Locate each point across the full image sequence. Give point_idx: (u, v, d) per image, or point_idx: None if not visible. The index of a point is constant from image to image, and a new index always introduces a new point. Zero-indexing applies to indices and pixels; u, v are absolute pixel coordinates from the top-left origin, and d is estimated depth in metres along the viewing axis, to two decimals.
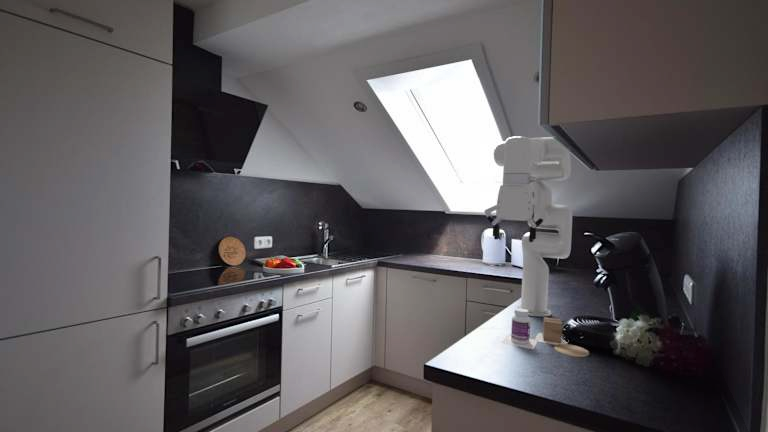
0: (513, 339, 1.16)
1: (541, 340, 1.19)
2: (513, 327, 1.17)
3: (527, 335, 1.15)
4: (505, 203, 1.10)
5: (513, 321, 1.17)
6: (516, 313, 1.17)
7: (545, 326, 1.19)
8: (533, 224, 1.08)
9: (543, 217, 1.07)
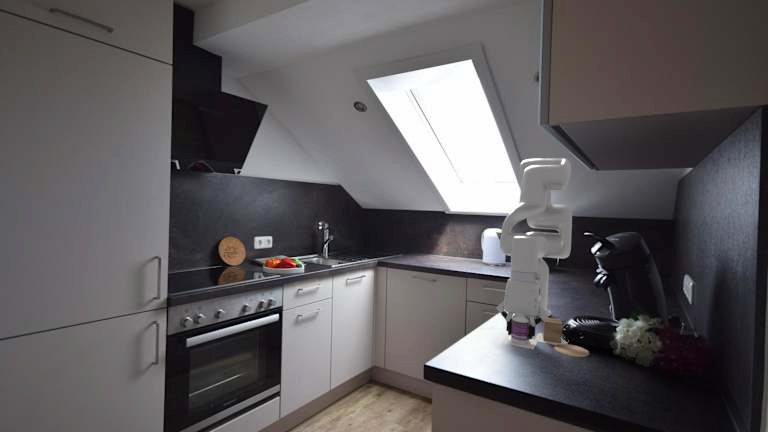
0: (513, 339, 1.16)
1: (541, 340, 1.19)
2: (513, 327, 1.17)
3: (527, 335, 1.15)
4: (512, 298, 1.16)
5: (513, 321, 1.17)
6: None
7: (545, 326, 1.19)
8: (532, 323, 1.15)
9: (543, 318, 1.14)
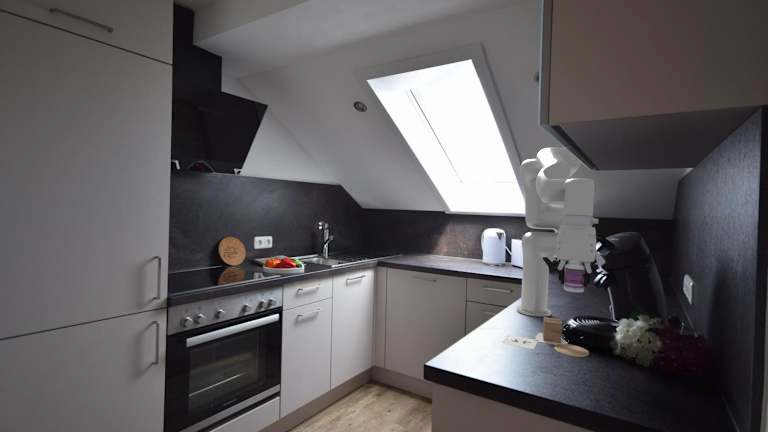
0: (567, 288, 1.10)
1: (541, 340, 1.19)
2: (566, 275, 1.10)
3: (582, 282, 1.09)
4: (566, 244, 1.10)
5: (566, 269, 1.10)
6: None
7: (545, 326, 1.19)
8: (588, 269, 1.08)
9: (600, 264, 1.07)
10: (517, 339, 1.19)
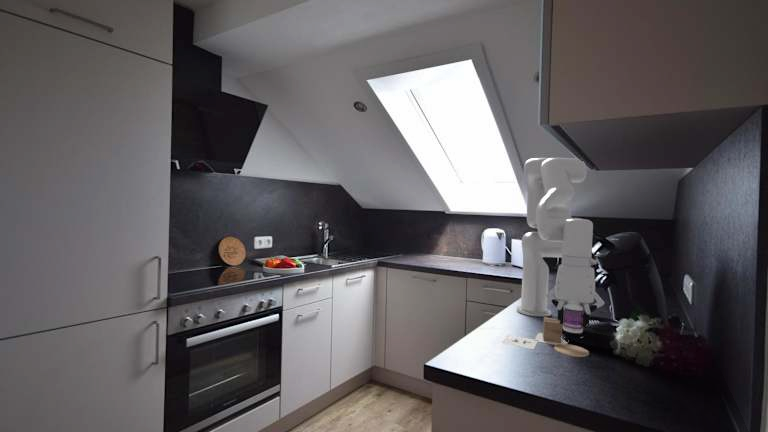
0: (566, 328, 1.10)
1: (541, 340, 1.19)
2: (565, 315, 1.10)
3: (581, 323, 1.09)
4: (565, 285, 1.10)
5: (566, 309, 1.10)
6: None
7: (545, 326, 1.19)
8: (587, 310, 1.08)
9: (599, 305, 1.07)
10: (517, 339, 1.19)
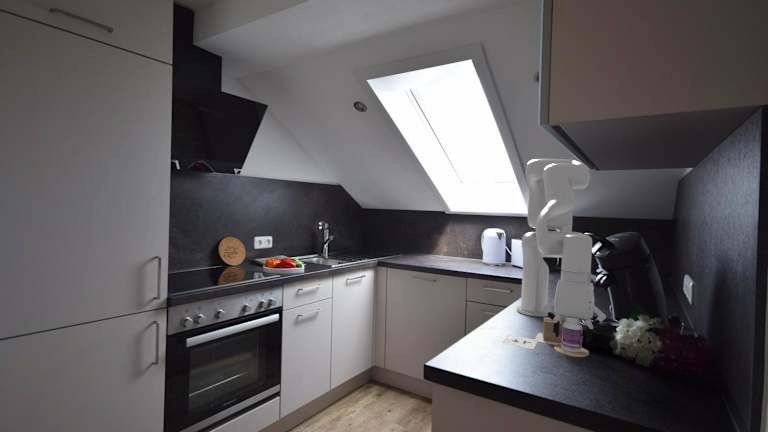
0: (564, 347, 1.10)
1: (541, 340, 1.19)
2: (564, 334, 1.11)
3: (579, 342, 1.09)
4: (564, 300, 1.10)
5: (564, 328, 1.11)
6: (567, 320, 1.11)
7: (545, 326, 1.19)
8: (590, 325, 1.08)
9: (601, 319, 1.07)
10: (517, 339, 1.19)
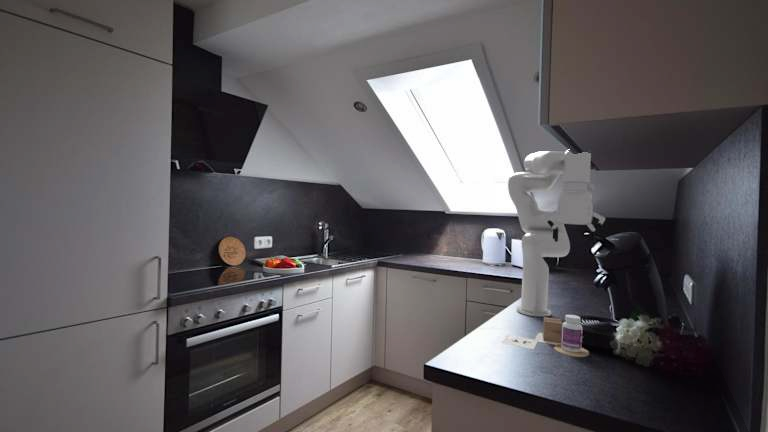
0: (564, 347, 1.10)
1: (541, 340, 1.19)
2: (564, 334, 1.11)
3: (579, 342, 1.09)
4: (566, 209, 1.22)
5: (564, 328, 1.11)
6: (567, 320, 1.11)
7: (545, 326, 1.19)
8: (592, 228, 1.19)
9: (602, 221, 1.18)
10: (517, 339, 1.19)
